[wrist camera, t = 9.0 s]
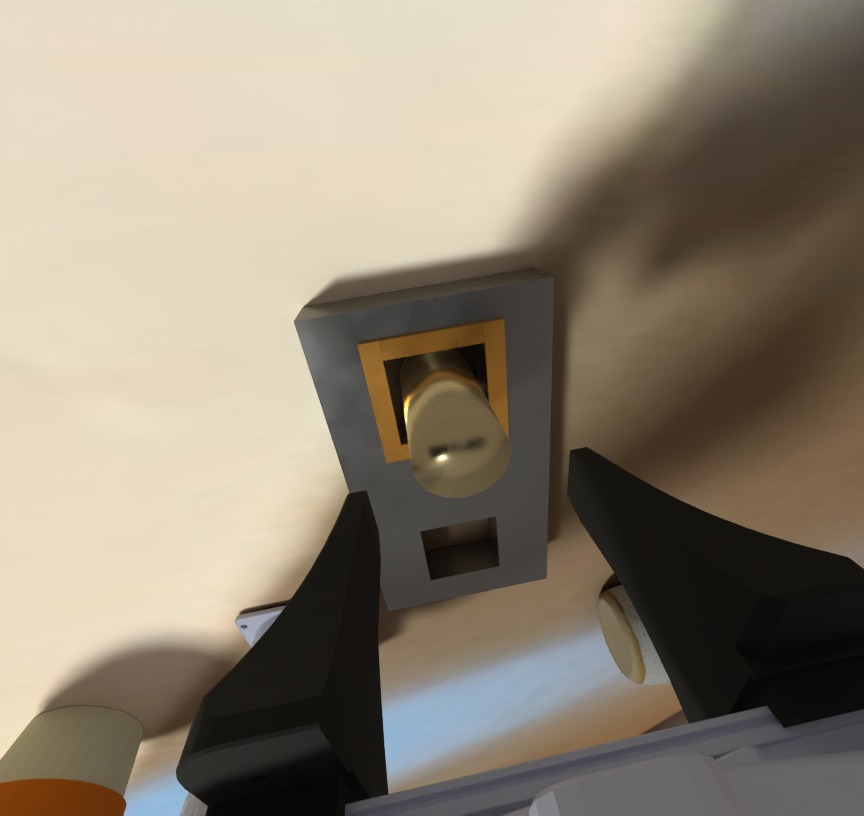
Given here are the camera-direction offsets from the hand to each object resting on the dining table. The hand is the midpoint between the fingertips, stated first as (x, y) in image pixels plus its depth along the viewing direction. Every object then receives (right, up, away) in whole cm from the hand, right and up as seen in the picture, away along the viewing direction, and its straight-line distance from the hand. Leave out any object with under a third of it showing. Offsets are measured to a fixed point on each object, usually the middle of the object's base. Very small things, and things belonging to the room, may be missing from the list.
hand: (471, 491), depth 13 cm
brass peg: (-1, +5, +9) cm, 10 cm away
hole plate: (0, 0, +12) cm, 12 cm away
